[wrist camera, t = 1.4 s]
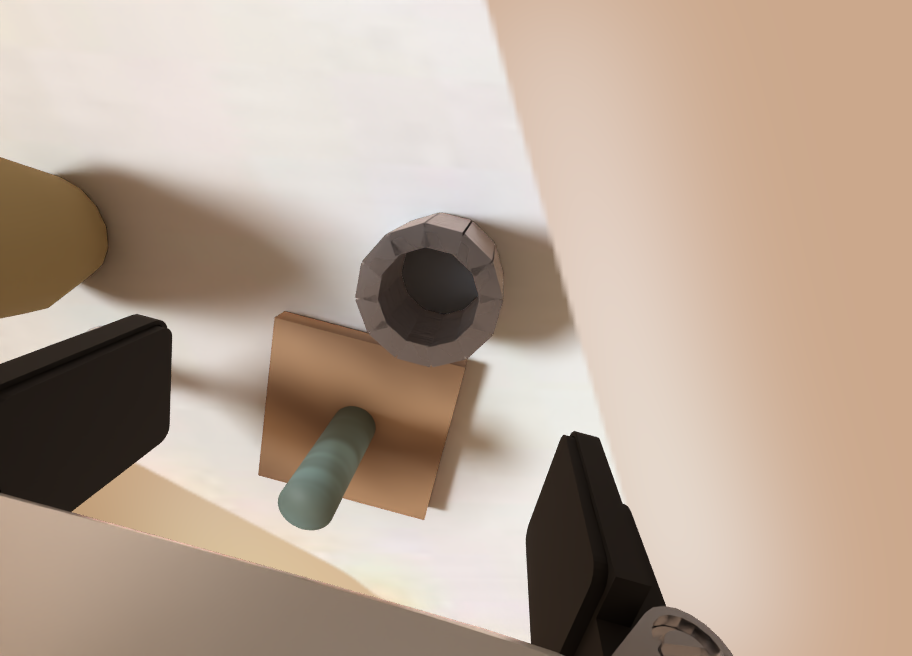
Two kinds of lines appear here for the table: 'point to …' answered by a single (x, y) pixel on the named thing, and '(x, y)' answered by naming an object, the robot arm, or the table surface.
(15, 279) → the squeeze bottle
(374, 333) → the ring
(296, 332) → the post stand
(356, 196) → the table surface
